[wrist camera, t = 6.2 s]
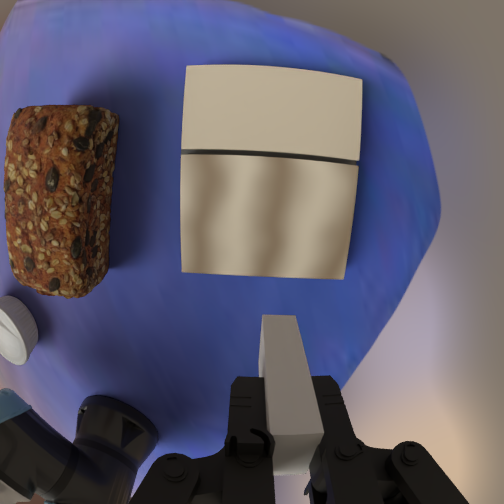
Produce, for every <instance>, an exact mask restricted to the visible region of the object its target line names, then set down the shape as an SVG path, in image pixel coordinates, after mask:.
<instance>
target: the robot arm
mask: <svg viewBox="0 0 504 504" xmlns="http://www.w3.org/2000/svg"><path fill="white" fill-rule="evenodd" d="M157 439H158V432H157V430H156V428H155V426H154V425H153V424H152V423H151V422H150V420H149V419H147V418H146V417H145V416H144V415H143V414H141V413H140V412H139V411H137V410H135V409H134V408H132V407H130V406H129V405H127V404H124V403H122V402H120V401H117V400H115V399H112V398H108V397H103V396H90V397H87V398H86V399H85V400H84V401H83V403H82V404H81V406H80V408H79V411H78V417H77V426H76V437H75V439H74V442H73V444H72V443H71V442H70V441H68V440H67V439H66V438H65V437H63V436H62V435H61V434H60V433H58V432H57V431H56V430H55V429H54V428H52V427H51V426H50V425H49V424H48V423H47V422H46V421H45V420H44V419H42V418H41V417H40V416H39V415H38V414H37V413H36V412H35V411H34V410H33V409H32V406H31V405H28V404H27V403H26V402H25V401H24V400H23V399H21V398H20V397H19V396H18V395H17V394H16V393H15V392H14V391H13V390H11V389H8V388H4V389H1V390H0V504H16V502H20V501H21V502H25V501H30V500H31V498H32V496H33V495H34V493H37V494H38V495H40V496H41V497H42V498H44V499H45V500H46V501H44V504H275V490H274V475H295V474H306V473H307V471H308V469H310V476H311V479H310V481H309V483H308V485H307V486H306V488H305V490H304V495H307V494H308V492H309V498H310V504H469V503H468V501H467V500H466V499H465V498H464V496H463V495H462V494H461V493H460V491H459V490H458V489H457V488H456V486H455V485H454V484H453V483H452V481H451V480H450V479H449V478H448V476H447V475H446V474H445V473H444V471H443V470H442V469H441V468H440V467H439V465H438V464H437V463H436V461H435V460H434V459H433V458H432V456H431V455H430V454H429V453H428V451H427V450H426V449H425V448H424V447H423V446H422V445H421V444H419V443H416V442H414V441H405V442H402V443H400V444H398V445H397V446H395V448H394V449H393V450H392V449H380V448H373V447H369V446H366V445H365V444H364V443H363V442H362V441H361V440H359V439H358V438H356V436H355V434H354V431H353V428H352V425H351V422H350V419H349V415H348V412H347V409H346V406H345V404H344V400H343V397H342V396H341V391H340V388H339V385H338V384H337V382H336V381H335V380H334V379H333V378H332V377H331V376H330V375H329V376H311V375H310V371H309V367H308V363H307V359H306V355H305V351H304V347H303V343H302V339H301V335H300V331H299V328H298V324H297V320H296V316H295V315H262V325H261V338H260V350H259V377H241V376H237V378H236V379H235V381H234V382H233V383H232V385H231V393H230V407H229V420H228V433H227V436H226V439H225V442H224V444H225V445H224V447H223V448H222V449H221V450H220V451H219V452H218V453H216V454H214V455H211V456H208V457H202V458H196V459H191V458H189V457H187V456H186V455H183V454H178V453H171V454H165V455H163V456H161V457H159V458H158V459H157V460H156V461H155V462H154V463H153V464H152V466H151V468H150V469H149V471H148V473H147V474H146V476H145V477H144V479H143V481H142V482H141V484H140V486H139V487H138V489H137V490H136V492H135V494H134V495H133V497H132V499H131V500H130V496H131V493H132V489H133V485H134V482H135V478H136V475H137V471H138V469H139V467H140V466H141V465H142V463H143V462H144V461H145V460H146V459H147V457H148V456H149V455H150V454H151V452H152V451H153V450H154V448H155V446H156V443H157ZM129 500H130V502H129Z"/></svg>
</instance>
